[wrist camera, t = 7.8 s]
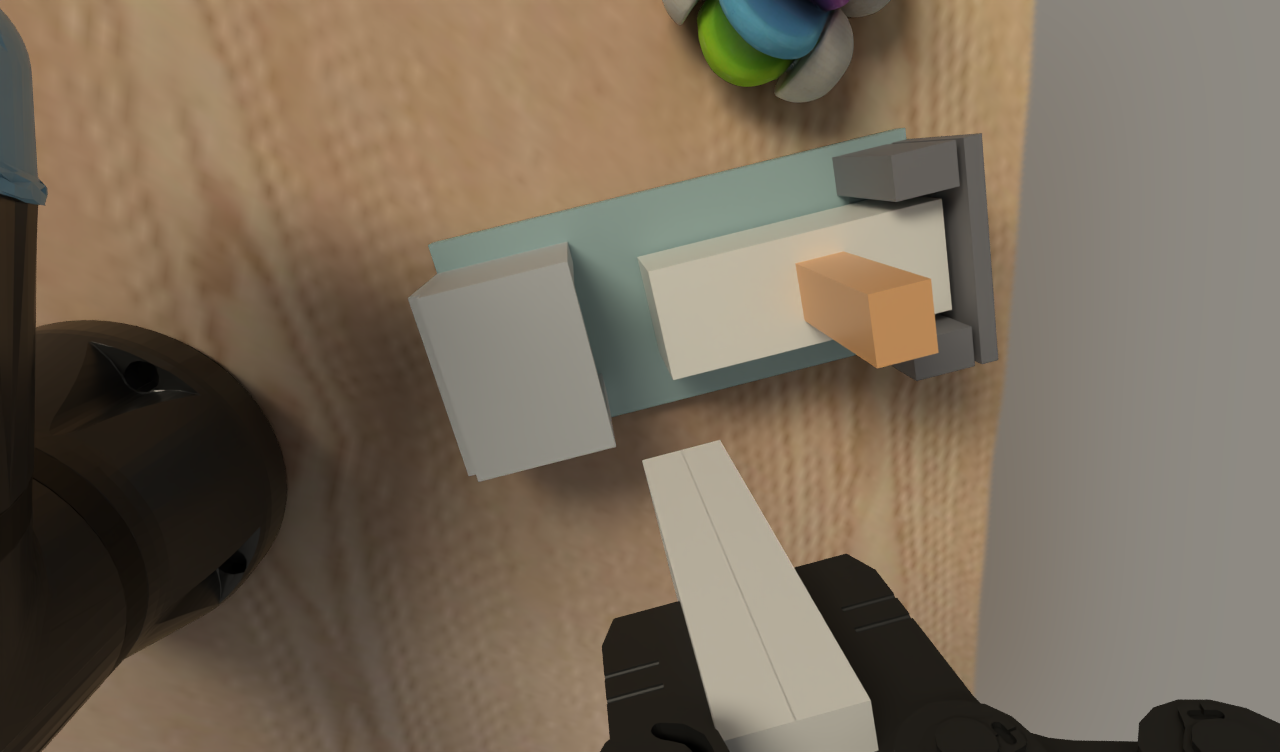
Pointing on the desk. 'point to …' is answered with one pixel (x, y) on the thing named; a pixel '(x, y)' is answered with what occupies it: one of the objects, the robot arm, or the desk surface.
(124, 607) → the robot arm
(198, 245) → the desk surface
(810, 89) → the rainbow disc toy
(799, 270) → the block with wooden peg
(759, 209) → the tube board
